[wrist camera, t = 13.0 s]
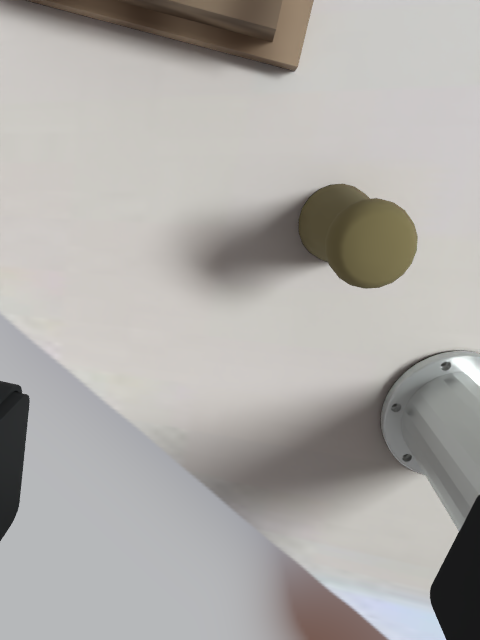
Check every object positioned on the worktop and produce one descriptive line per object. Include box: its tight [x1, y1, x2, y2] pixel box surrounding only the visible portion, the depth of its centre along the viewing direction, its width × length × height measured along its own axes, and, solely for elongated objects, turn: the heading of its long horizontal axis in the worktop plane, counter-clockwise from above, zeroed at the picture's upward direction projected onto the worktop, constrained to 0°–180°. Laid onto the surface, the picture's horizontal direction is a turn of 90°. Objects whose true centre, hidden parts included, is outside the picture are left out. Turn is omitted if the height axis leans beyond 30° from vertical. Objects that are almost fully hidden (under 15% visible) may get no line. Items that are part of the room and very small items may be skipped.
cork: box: [299, 184, 417, 288], centre depth 29 cm, size 6×6×11 cm
